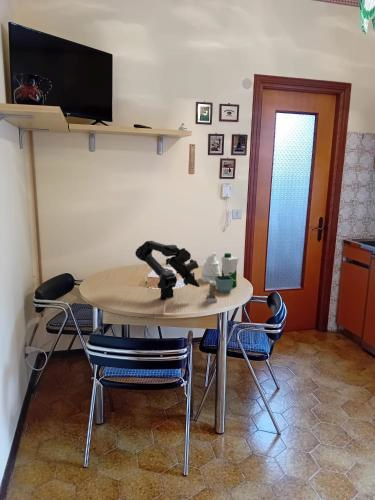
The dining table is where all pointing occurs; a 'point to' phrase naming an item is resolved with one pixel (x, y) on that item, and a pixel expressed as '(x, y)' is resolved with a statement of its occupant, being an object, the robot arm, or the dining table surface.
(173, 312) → the dining table surface
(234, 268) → the milk carton
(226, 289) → the flower pot
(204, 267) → the white rounded cone
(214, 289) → the block
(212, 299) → the slate board
